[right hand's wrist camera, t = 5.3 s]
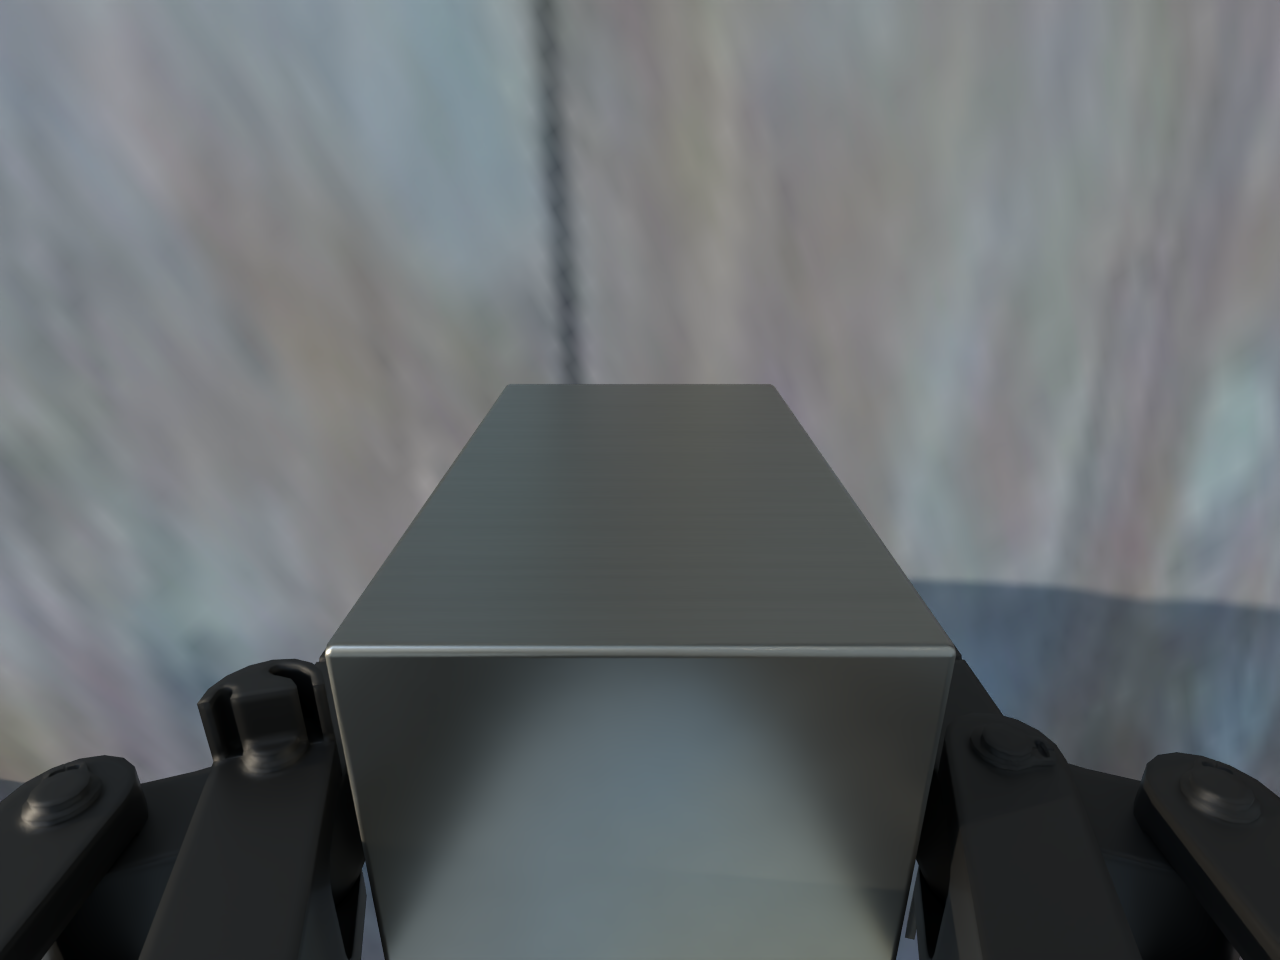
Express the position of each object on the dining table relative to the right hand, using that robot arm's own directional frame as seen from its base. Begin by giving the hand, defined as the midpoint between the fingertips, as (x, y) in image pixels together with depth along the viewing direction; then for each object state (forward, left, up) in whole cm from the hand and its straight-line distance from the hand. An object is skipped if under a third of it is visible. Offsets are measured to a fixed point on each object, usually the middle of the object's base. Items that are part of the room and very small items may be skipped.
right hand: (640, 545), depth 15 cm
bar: (+4, +7, 0) cm, 8 cm away
